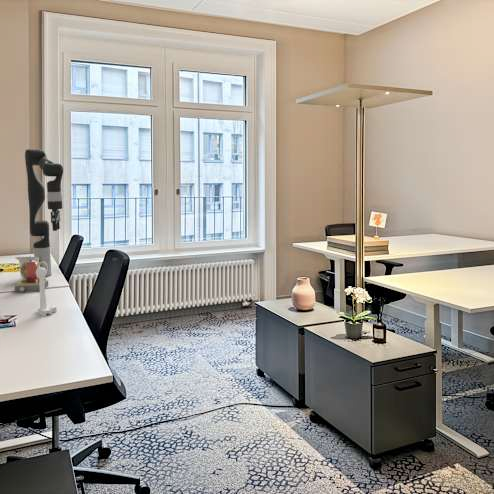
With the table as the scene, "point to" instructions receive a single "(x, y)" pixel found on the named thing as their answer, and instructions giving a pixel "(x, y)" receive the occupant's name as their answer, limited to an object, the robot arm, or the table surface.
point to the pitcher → (23, 265)
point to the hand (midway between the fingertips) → (56, 230)
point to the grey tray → (29, 286)
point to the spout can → (31, 271)
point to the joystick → (43, 294)
